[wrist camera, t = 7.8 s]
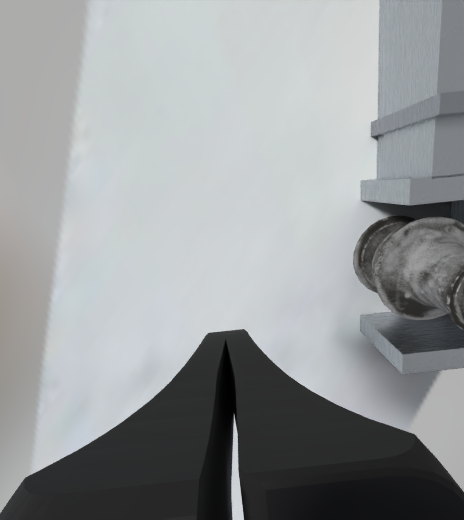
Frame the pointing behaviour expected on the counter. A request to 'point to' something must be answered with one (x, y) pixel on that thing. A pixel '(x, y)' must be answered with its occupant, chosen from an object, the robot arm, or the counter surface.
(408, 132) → the grey divided tray
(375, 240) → the grey tapered rounded piece
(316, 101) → the counter surface
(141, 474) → the robot arm
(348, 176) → the counter surface
